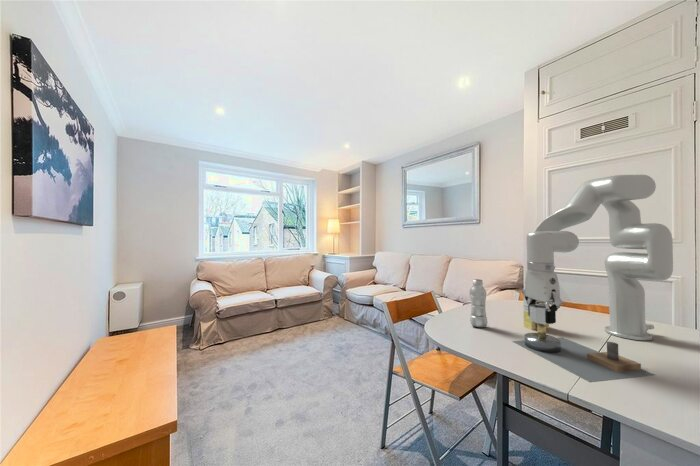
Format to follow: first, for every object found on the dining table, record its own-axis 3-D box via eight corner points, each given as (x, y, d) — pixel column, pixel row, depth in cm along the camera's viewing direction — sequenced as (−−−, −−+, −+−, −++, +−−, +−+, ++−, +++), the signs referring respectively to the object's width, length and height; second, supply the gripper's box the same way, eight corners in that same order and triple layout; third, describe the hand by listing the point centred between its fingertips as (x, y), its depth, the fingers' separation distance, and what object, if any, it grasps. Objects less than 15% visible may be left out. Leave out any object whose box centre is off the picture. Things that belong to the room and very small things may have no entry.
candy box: (540, 325, 112) (539, 289, 112) (550, 329, 108) (549, 291, 108) (523, 327, 110) (522, 291, 110) (532, 331, 106) (531, 293, 106)
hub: (542, 340, 96) (541, 318, 96) (568, 352, 86) (568, 327, 86) (517, 342, 94) (517, 319, 94) (541, 354, 84) (541, 329, 84)
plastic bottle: (487, 330, 107) (486, 281, 107) (469, 327, 111) (468, 280, 111) (488, 325, 112) (487, 279, 113) (471, 323, 116) (470, 278, 116)
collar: (542, 317, 94) (541, 303, 94) (558, 323, 87) (557, 308, 87) (525, 318, 93) (525, 304, 93) (540, 324, 86) (540, 309, 87)
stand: (609, 356, 82) (608, 337, 82) (641, 369, 74) (640, 347, 74) (587, 358, 81) (586, 339, 81) (617, 372, 73) (616, 350, 73)
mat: (562, 338, 98) (562, 337, 98) (656, 376, 71) (656, 374, 71) (511, 342, 95) (511, 341, 95) (589, 383, 68) (589, 382, 68)
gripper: (574, 270, 82) (575, 327, 82) (530, 264, 99) (531, 311, 99) (552, 271, 81) (553, 328, 81) (512, 265, 99) (513, 312, 98)
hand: (541, 319), depth 90 cm, fingers closed on collar, 6 cm apart
